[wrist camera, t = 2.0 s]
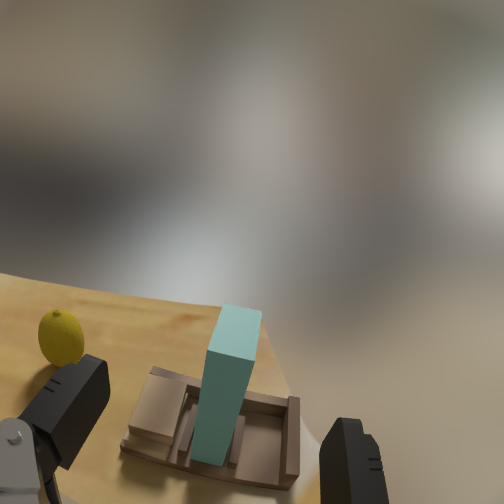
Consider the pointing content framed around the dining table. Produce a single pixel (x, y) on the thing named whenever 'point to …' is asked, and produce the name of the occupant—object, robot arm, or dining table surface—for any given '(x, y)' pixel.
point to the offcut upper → (158, 409)
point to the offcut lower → (150, 442)
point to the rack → (241, 440)
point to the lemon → (61, 338)
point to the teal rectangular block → (225, 381)
